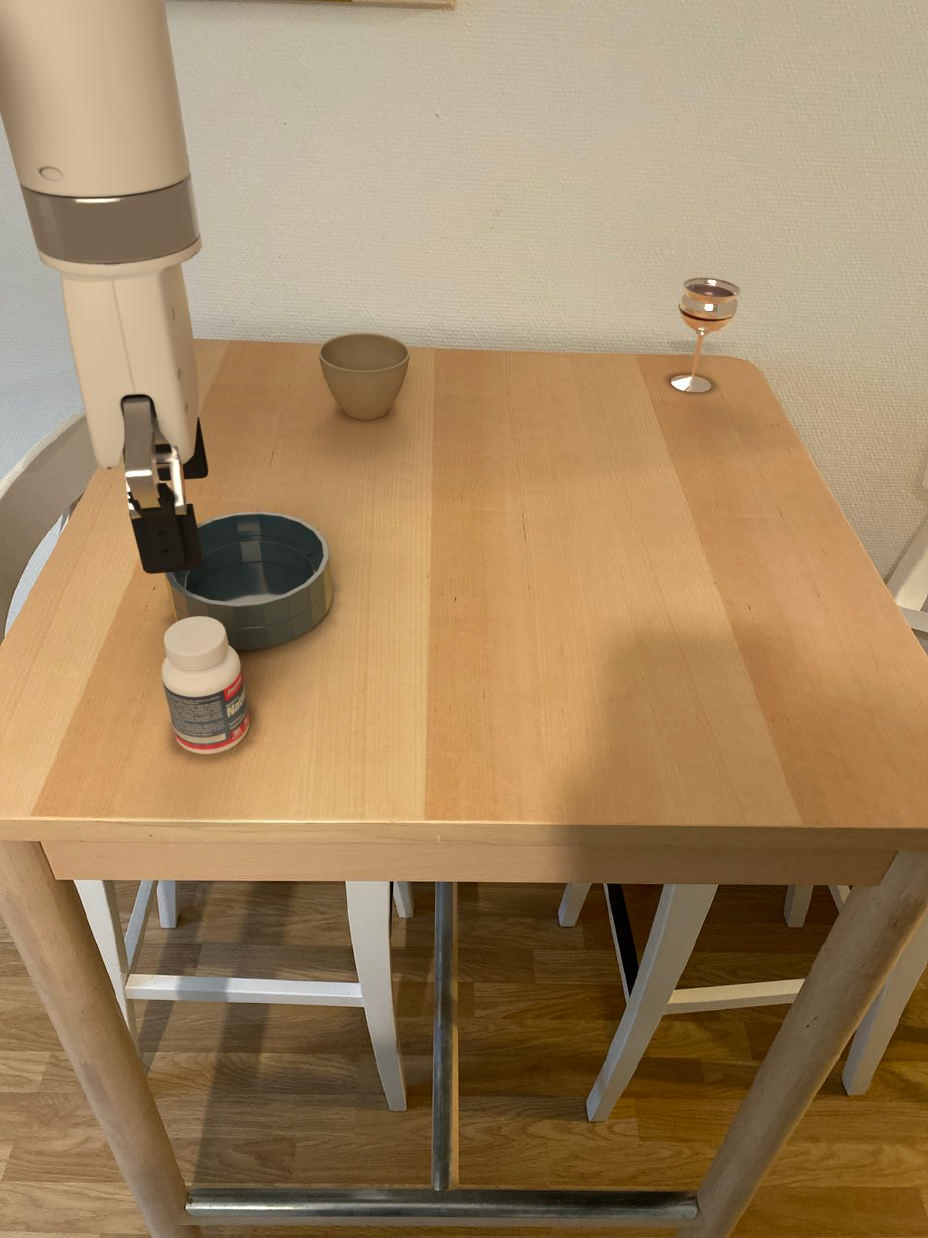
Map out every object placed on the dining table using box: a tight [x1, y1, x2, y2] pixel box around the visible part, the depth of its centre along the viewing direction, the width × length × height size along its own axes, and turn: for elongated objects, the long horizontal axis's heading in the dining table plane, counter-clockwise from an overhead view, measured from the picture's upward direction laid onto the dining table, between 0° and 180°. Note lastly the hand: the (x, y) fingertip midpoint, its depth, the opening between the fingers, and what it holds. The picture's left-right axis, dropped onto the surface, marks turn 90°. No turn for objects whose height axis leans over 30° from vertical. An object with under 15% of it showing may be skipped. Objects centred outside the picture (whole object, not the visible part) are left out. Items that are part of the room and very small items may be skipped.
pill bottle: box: [160, 616, 250, 755], centre depth 62 cm, size 5×5×9 cm
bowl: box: [163, 510, 333, 651], centre depth 75 cm, size 13×13×5 cm
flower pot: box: [317, 332, 411, 421], centre depth 102 cm, size 10×10×7 cm
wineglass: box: [670, 276, 742, 393], centre depth 109 cm, size 7×7×12 cm
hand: (179, 520), depth 54 cm, fingers open, 9 cm apart
